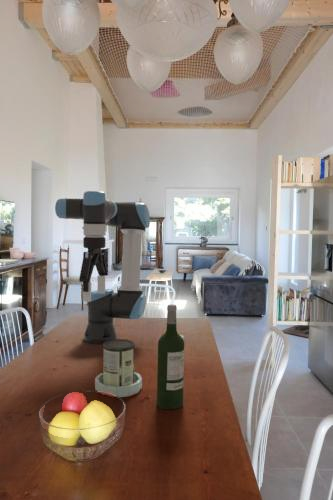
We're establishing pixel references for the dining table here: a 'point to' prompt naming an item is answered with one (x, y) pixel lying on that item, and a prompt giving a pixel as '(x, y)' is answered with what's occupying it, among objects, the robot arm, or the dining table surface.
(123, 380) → the coffee can
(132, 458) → the dining table surface
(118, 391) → the ring tray
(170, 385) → the wine bottle
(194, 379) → the dining table surface
